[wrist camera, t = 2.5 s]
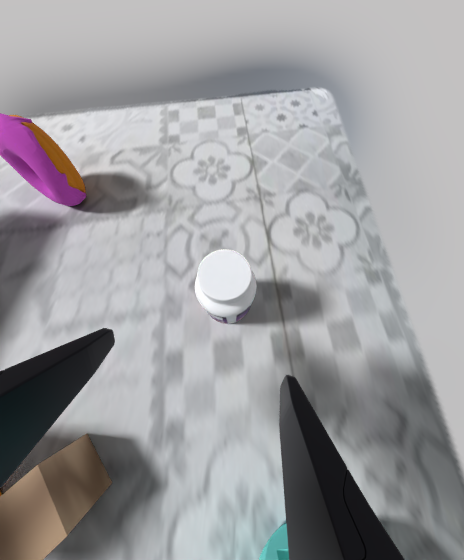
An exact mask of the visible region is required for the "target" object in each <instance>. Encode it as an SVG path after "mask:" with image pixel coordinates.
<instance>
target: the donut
mask: <svg viewBox="0 0 464 560" xmlns="http://www.w3.org/2000/svg"><path fill="white" fill-rule="evenodd" d="M0 155H1V156H2V157H3V158H4V159H5V160H6V161H7V162H8V163H9V164H10V165H11V166H12V167H13V168H14V169H15V170H16V171H17V172H18V173H19V174H20V175H21V176H22V177H23V178H24V179H25V180H26V181H28V182H29V183H30V184H31V185H32V186H33V187H34V188H36V189H37V190H38V191H40V192H41V193H42V194H44V195H45V196H46V197H48V198H50V199H51V200H53V201H55V202H57V203H59V204H63V205H68V206H74V205H78V204H80V203H81V202H82V201H83V200H84V199H85V198H86V189H85V185H84V182H83V180H82V178H81V176H80V174H79V173H78V171H77V170H76V168H75V167H74V165H73V164H72V163H71V161H70V160H69V158H68V157H67V156H66V154H65V153H64V152H63V151H62V149H61V148H60V147H59V146H58V145H57V144H56V143H55V142H54V141H53V140H52V138H51V137H50V136H48V135H47V134H46V133H45V132H44V131H43V130H42V129H41V128H39V127H38V126H37V125H35V124H34V123H33V122H32V121H31V119H26V118H23V117H21V116H17V115H9V116H8V115H4V114H0Z"/></svg>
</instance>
